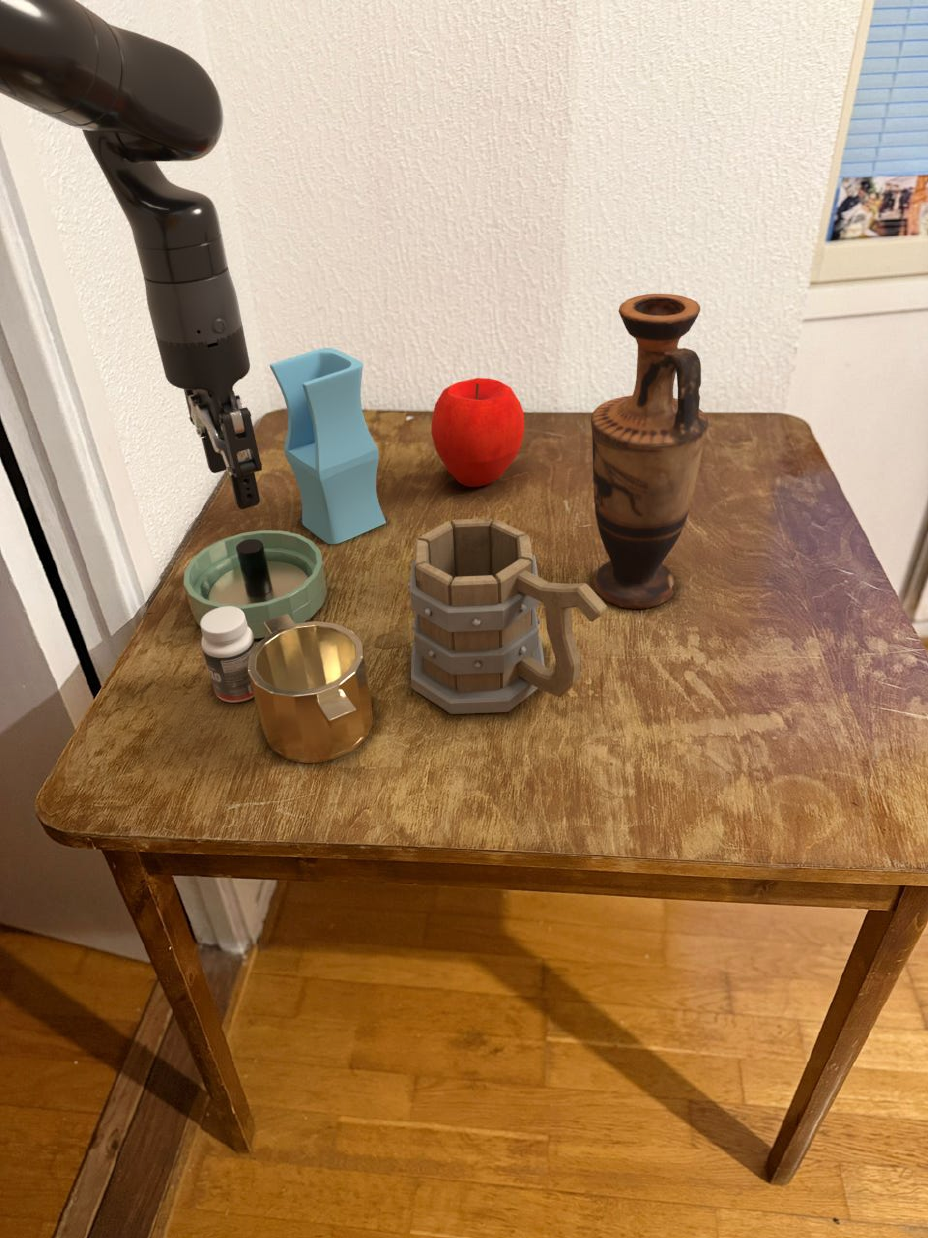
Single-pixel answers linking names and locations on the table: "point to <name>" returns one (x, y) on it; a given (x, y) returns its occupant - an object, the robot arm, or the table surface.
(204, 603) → the bowl
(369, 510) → the vase
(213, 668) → the pill bottle
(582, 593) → the tankard
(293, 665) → the pot
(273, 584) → the pot lid
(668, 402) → the vase
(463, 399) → the apple
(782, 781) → the table surface
